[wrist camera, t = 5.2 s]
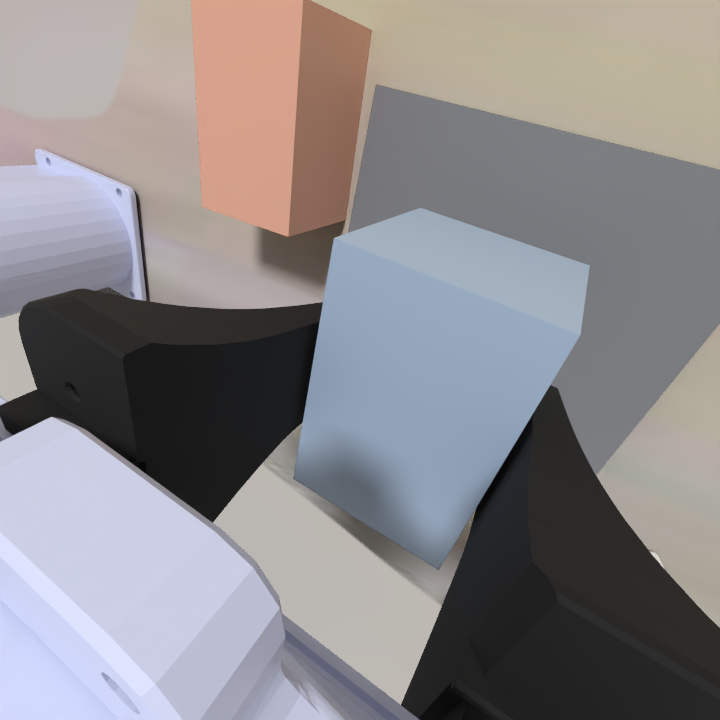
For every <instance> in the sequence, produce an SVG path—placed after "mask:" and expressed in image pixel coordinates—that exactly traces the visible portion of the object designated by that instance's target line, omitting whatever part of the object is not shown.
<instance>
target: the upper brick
mask: <svg viewBox="0 0 720 720" xmlns="http://www.w3.org/2000/svg"><path fill="white" fill-rule="evenodd" d="M191 6H192V25H193V44H194V63H195V82H196V101H197V120H198V138H199V157H200V176H201V195H202V207H204V208H207V209H209V210H212V211H215V212H218V213H221V214H224V215H227V216H230V217H232V218H235V219H238V220H241V221H244V222H247V223H250V224H252V225H255V226H258V227H261V228H264V229H267V230H270V231H273V232H275V233H278V234H281V235H284V236H287V237H290V236H294V235H297V234H300V233H304V232H307V231H311V230H314V229H318V228H321V227H324V226H328V225H331V224H335V223H338V222H341V221H345V220H346V215H347V208H348V201H349V193H350V186H351V179H352V171H353V164H354V157H355V150H356V142H357V135H358V128H359V120H360V113H361V106H362V99H363V91H364V84H365V77H366V70H367V62H368V55H369V48H370V40H371V33H372V30H371V29H369V28H367V27H365V26H363V25H360V24H358V23H356V22H354V21H352V20H350V19H348V18H346V17H344V16H342V15H340V14H337V13H335V12H333V11H331V10H329V9H327V8H325V7H323V6H321V5H319V4H317V3H315V2H312V1H310V0H191Z"/></svg>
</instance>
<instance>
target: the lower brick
mask: <svg viewBox="0 0 720 720" xmlns="http://www.w3.org/2000/svg"><path fill="white" fill-rule="evenodd" d="M589 267H590V265H587V264H584V263H581V262H578V261H575V260H572V259H569V258H566V257H563V256H561V255H558V254H555V253H552V252H549V251H546V250H543V249H540V248H537V247H534V246H531V245H528V244H525V243H522V242H519V241H516V240H514V239H511V238H508V237H505V236H502V235H499V234H496V233H493V232H490V231H487V230H484V229H481V228H478V227H475V226H472V225H470V224H467V223H464V222H461V221H458V220H455V219H452V218H449V217H446V216H443V215H440V214H437V213H434V212H431V211H428V210H426V209H423V208H418V209H415V210H412V211H410V212H407V213H404V214H401V215H398V216H395V217H392V218H390V219H387V220H384V221H381V222H378V223H375V224H372V225H370V226H367V227H364V228H361V229H358V230H355V231H352V232H350V233H347V234H344V235H341V236H338V237H335V238H334V240H333V246H332V252H331V258H330V264H329V270H328V276H327V282H326V288H325V294H324V300H323V305H322V311H321V317H320V323H319V329H318V335H317V341H316V347H315V353H314V359H313V365H312V371H311V377H310V382H309V388H308V394H307V400H306V406H305V412H304V418H303V424H302V430H301V436H300V442H299V448H298V453H297V459H296V465H295V471H294V477H293V479H294V480H296V481H298V482H299V483H301V484H302V485H304V486H306V487H307V488H309V489H310V490H312V491H314V492H315V493H317V494H318V495H320V496H321V497H323V498H325V499H326V500H328V501H329V502H331V503H333V504H334V505H336V506H337V507H339V508H341V509H342V510H344V511H345V512H347V513H349V514H350V515H352V516H353V517H355V518H356V519H358V520H360V521H361V522H363V523H364V524H366V525H368V526H369V527H371V528H372V529H374V530H376V531H377V532H379V533H380V534H382V535H384V536H385V537H387V538H388V539H390V540H391V541H393V542H395V543H396V544H398V545H399V546H401V547H403V548H404V549H406V550H407V551H409V552H411V553H412V554H414V555H415V556H417V557H418V558H420V559H422V560H423V561H425V562H426V563H428V564H430V565H431V566H433V567H434V568H436V569H438V570H439V569H440V567H441V565H442V564H443V562H444V560H445V559H446V557H447V555H448V554H449V552H450V550H451V549H452V547H453V545H454V544H455V542H456V541H457V539H458V537H459V536H460V534H461V532H462V531H463V529H464V527H465V526H466V524H467V522H468V521H469V519H470V517H471V516H472V514H473V512H474V511H475V509H476V507H477V506H478V504H479V502H480V501H481V499H482V497H483V496H484V494H485V492H486V491H487V489H488V487H489V486H490V484H491V482H492V481H493V479H494V477H495V476H496V474H497V473H498V471H499V469H500V468H501V466H502V464H503V463H504V461H505V459H506V458H507V456H508V454H509V453H510V451H511V449H512V448H513V446H514V444H515V443H516V441H517V439H518V438H519V436H520V434H521V433H522V431H523V429H524V428H525V426H526V424H527V423H528V421H529V419H530V418H531V416H532V414H533V413H534V411H535V410H536V408H537V406H538V405H539V403H540V401H541V400H542V398H543V396H544V395H545V393H546V391H547V390H548V388H549V386H550V385H551V383H552V381H553V380H554V378H555V376H556V375H557V373H558V371H559V370H560V368H561V366H562V365H563V363H564V361H565V360H566V358H567V356H568V355H569V353H570V351H571V350H572V348H573V346H574V345H575V343H576V342H577V340H578V338H579V337H580V335H581V327H582V320H583V312H584V305H585V297H586V290H587V282H588V275H589Z"/></svg>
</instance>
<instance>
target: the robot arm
mask: <svg viewBox="0 0 720 720" xmlns="http://www.w3.org/2000/svg"><path fill="white" fill-rule="evenodd" d="M35 158H36V162H37V165H23V166H0V318H2V317H6V316H9V315H13V314H16V313H20V312H21V313H20V316H19V331H20V336H21V340H22V343H23V347H24V350H25V353H26V356H27V359H28V362H29V365H30V368H31V371H32V375H33V377H34V381H35V384H36V387H37V390H34V391H32V392H30V393H27V394H25V395H23V396H20V397H18V398H16V399H13V400H12V401H9V402H7V401H6V400H5V399H3V398H2V397H1V396H0V720H720V628H719V627H718V626H717V625H716V624H715V623H714V622H713V621H712V620H711V619H710V618H709V617H708V616H707V615H706V614H705V613H704V612H703V611H702V610H701V609H700V608H699V607H698V606H697V605H696V604H695V602H694V601H693V600H692V599H691V598H690V597H689V596H688V595H687V594H686V593H685V591H684V590H683V589H682V588H681V587H680V586H679V585H678V584H677V583H676V582H675V581H674V579H673V578H672V577H671V576H670V575H669V574H668V573H667V572H666V570H665V569H664V568H663V567H662V566H661V565H660V563H659V562H658V561H657V560H656V559H655V557H654V556H653V555H652V554H651V553H650V552H649V550H648V549H647V548H646V546H645V545H644V544H643V543H642V541H641V540H640V539H639V537H638V536H637V535H636V534H635V532H634V531H633V530H632V528H631V527H630V526H629V525H628V523H627V522H626V521H625V519H624V518H623V516H622V515H621V514H620V512H619V511H618V509H617V508H616V506H615V505H614V503H613V502H612V500H611V499H610V497H609V496H608V494H607V493H606V491H605V489H604V488H603V486H602V485H601V483H600V481H599V480H598V478H597V476H596V475H595V473H594V471H593V469H592V467H591V465H590V464H589V462H588V460H587V458H586V456H585V454H584V452H583V450H582V448H581V446H580V444H579V442H578V439H577V437H576V435H575V433H574V430H573V428H572V425H571V423H570V420H569V418H568V415H567V412H566V409H565V407H564V404H563V401H562V398H561V396H560V393H559V390H558V388H556V387H554V386H552V385H550V386H549V388H548V390H547V391H546V393H545V395H544V396H543V398H542V400H541V401H540V403H539V405H538V406H537V408H536V410H535V411H534V413H533V414H532V416H531V418H530V419H529V421H528V423H527V424H526V426H525V428H524V429H523V431H522V433H521V434H520V436H519V438H518V439H517V441H516V443H515V444H514V446H513V448H512V449H511V451H510V453H509V454H508V456H507V458H506V459H505V461H504V463H503V464H502V466H501V468H500V469H499V471H498V473H497V474H496V476H495V477H494V479H493V481H492V482H491V484H490V486H489V487H488V489H487V491H486V492H485V494H484V496H483V497H482V499H481V501H480V502H479V504H478V506H477V508H476V512H475V515H474V519H473V523H472V526H471V530H470V534H469V537H468V540H467V543H466V546H465V549H464V552H463V555H462V557H461V560H460V562H459V565H458V567H457V570H456V573H455V575H454V578H453V580H452V583H451V585H450V588H449V590H448V593H447V595H446V598H445V600H444V603H443V605H442V608H441V610H440V613H439V615H438V617H437V620H436V622H435V625H434V627H433V630H432V632H431V634H430V637H429V639H428V642H427V644H426V647H425V649H424V652H423V654H422V656H421V659H420V661H419V664H418V666H417V668H416V671H415V673H414V676H413V678H412V680H411V683H410V685H409V687H408V690H407V692H406V694H405V697H404V699H403V701H402V704H401V705H400V704H398V703H397V702H396V701H395V700H393V699H392V698H391V697H389V696H388V695H387V694H386V693H384V692H383V691H382V690H380V689H379V688H378V687H376V686H375V685H374V684H372V683H371V682H370V681H369V680H367V679H366V678H365V677H364V676H362V675H361V674H360V673H358V672H357V671H356V670H354V669H353V668H352V667H351V666H349V665H348V664H346V663H345V662H344V661H343V660H342V659H340V658H339V657H338V656H336V655H335V654H334V653H332V652H331V651H330V650H329V649H327V648H326V647H325V646H323V645H322V644H321V643H319V642H318V641H317V640H316V639H314V638H313V637H312V636H310V635H309V634H308V633H307V632H305V631H304V630H303V629H301V628H300V627H299V626H297V625H296V624H295V623H293V622H292V621H291V620H290V619H288V618H287V617H286V616H284V615H283V614H282V611H281V605H280V600H279V596H278V595H277V593H276V591H275V590H274V588H273V587H272V585H271V584H270V582H269V581H268V579H267V578H266V576H265V575H264V573H263V572H262V570H261V569H260V567H259V566H258V564H257V563H256V561H255V560H254V559H253V558H251V556H250V555H248V554H247V553H246V552H245V551H244V550H243V549H242V548H241V547H240V546H239V545H238V544H237V543H236V542H234V540H232V539H231V538H230V537H229V536H228V535H227V534H226V533H225V532H224V531H223V530H222V529H220V528H219V527H218V526H216V525H215V524H213V522H214V520H215V519H216V518H217V517H218V515H219V514H220V513H221V512H222V510H223V509H224V508H225V507H226V506H227V504H228V503H229V502H230V501H231V499H232V498H233V497H234V496H235V494H236V493H237V492H238V491H239V490H240V488H241V487H242V486H243V485H244V484H245V483H246V481H247V480H248V479H249V478H250V477H251V475H252V474H253V473H254V472H255V471H256V470H257V469H258V467H259V466H260V465H261V464H262V463H263V462H264V461H265V459H266V458H267V457H268V456H269V455H270V454H271V453H272V452H273V451H274V449H275V448H276V447H277V446H278V445H279V444H280V443H281V442H282V441H283V440H284V439H285V438H286V437H287V436H288V435H289V434H290V433H291V432H292V431H293V430H294V429H295V428H296V427H298V426H299V425H300V424H301V423H302V422H303V418H304V412H305V406H306V400H307V394H308V388H309V382H310V377H311V371H312V365H313V359H314V353H315V347H316V341H317V335H318V329H319V323H320V317H321V311H322V305H323V302H322V303H314V304H307V305H299V306H288V307H278V308H266V309H215V308H199V307H186V306H177V305H169V304H162V303H155V302H148V301H146V289H145V280H144V270H143V261H142V251H141V242H140V233H139V223H138V214H137V204H136V196H135V193H134V191H133V189H132V188H131V187H129V186H127V185H125V184H123V183H120V182H118V181H116V180H113V179H111V178H109V177H106V176H104V175H102V174H99V173H97V172H95V171H92V170H90V169H88V168H85V167H83V166H81V165H78V164H76V163H74V162H71V161H69V160H67V159H64V158H62V157H60V156H57V155H55V154H53V153H50V152H48V151H45V150H43V149H36V150H35ZM107 287H109V288H111V289H113V290H115V291H116V292H118V293H120V294H122V295H124V296H125V297H122V296H117V295H112V294H107V293H103V292H98V291H97V290H100V289H104V288H107Z"/></svg>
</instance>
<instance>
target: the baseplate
mask: <svg viewBox="0 0 720 720" xmlns="http://www.w3.org/2000/svg"><path fill="white" fill-rule="evenodd" d="M418 208H423V209H426V210H428V211H431V212H434V213H437V214H440V215H443V216H446V217H449V218H452V219H455V220H458V221H461V222H464V223H467V224H470V225H472V226H475V227H478V228H481V229H484V230H487V231H490V232H493V233H496V234H499V235H502V236H505V237H508V238H511V239H514V240H516V241H519V242H522V243H525V244H528V245H531V246H534V247H537V248H540V249H543V250H546V251H549V252H552V253H555V254H558V255H561V256H563V257H566V258H569V259H572V260H575V261H578V262H581V263H584V264H587V265H590V267H589V275H588V282H587V290H586V297H585V305H584V312H583V320H582V327H581V335H580V337H579V338H578V340H577V342H576V343H575V345H574V346H573V348H572V350H571V351H570V353H569V355H568V356H567V358H566V360H565V361H564V363H563V365H562V366H561V368H560V370H559V371H558V373H557V375H556V376H555V378H554V380H553V381H552V383H551V385H552V386H554V387H556V388H558V390H559V393H560V396H561V398H562V401H563V404H564V407H565V409H566V412H567V415H568V418H569V420H570V423H571V425H572V428H573V430H574V433H575V435H576V437H577V439H578V442H579V444H580V446H581V448H582V450H583V452H584V454H585V456H586V458H587V460H588V462H589V464H590V465H591V467H592V469H593V471H594V473H595V475H596V474H597V473H598V472H599V471H600V470H601V468H602V467H603V466H604V465H605V463H606V462H607V461H608V460H609V459H610V457H611V456H612V455H613V454H614V452H615V451H616V450H617V449H618V448H619V446H620V445H621V444H622V443H623V441H624V440H625V439H626V438H627V437H628V435H629V434H630V433H631V432H632V430H633V429H634V428H635V427H636V425H637V424H638V423H639V422H640V421H641V419H642V418H643V417H644V416H645V414H646V413H647V412H648V411H649V410H650V408H651V407H652V406H653V405H654V403H655V402H656V401H657V400H658V399H659V397H660V396H661V395H662V394H663V392H664V391H665V390H666V389H667V388H668V386H669V385H670V384H671V383H672V381H673V380H674V379H675V378H676V377H677V375H678V374H679V373H680V372H681V370H682V369H683V368H684V367H685V366H686V364H687V363H688V362H689V361H690V359H691V358H692V357H693V356H694V355H695V353H696V352H697V351H698V350H699V348H700V347H701V346H702V345H703V344H704V342H705V341H706V340H707V339H708V337H709V336H710V335H711V334H712V332H713V331H714V330H715V329H716V328H717V326H718V325H719V324H720V170H718V169H714V168H710V167H706V166H702V165H698V164H694V163H690V162H686V161H682V160H678V159H674V158H670V157H666V156H662V155H658V154H654V153H650V152H646V151H642V150H638V149H633V148H629V147H625V146H621V145H617V144H613V143H609V142H605V141H601V140H597V139H593V138H589V137H585V136H581V135H577V134H573V133H569V132H565V131H561V130H557V129H553V128H549V127H545V126H541V125H537V124H533V123H529V122H525V121H521V120H517V119H513V118H509V117H505V116H501V115H497V114H493V113H489V112H485V111H481V110H476V109H472V108H468V107H464V106H460V105H456V104H452V103H448V102H444V101H440V100H436V99H432V98H428V97H424V96H420V95H416V94H412V93H408V92H404V91H400V90H396V89H392V88H388V87H384V86H380V85H376V87H375V93H374V98H373V103H372V109H371V114H370V119H369V125H368V130H367V135H366V141H365V146H364V151H363V157H362V162H361V167H360V172H359V178H358V183H357V188H356V194H355V199H354V204H353V210H352V215H351V220H350V226H349V231H348V233H350V232H352V231H355V230H358V229H361V228H364V227H367V226H370V225H372V224H375V223H378V222H381V221H384V220H387V219H390V218H392V217H395V216H398V215H401V214H404V213H407V212H410V211H412V210H415V209H418Z"/></svg>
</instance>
